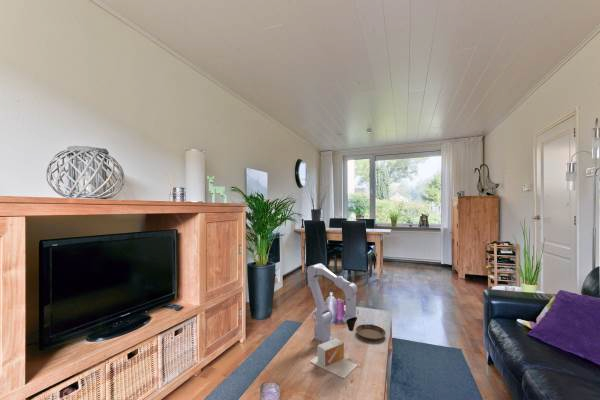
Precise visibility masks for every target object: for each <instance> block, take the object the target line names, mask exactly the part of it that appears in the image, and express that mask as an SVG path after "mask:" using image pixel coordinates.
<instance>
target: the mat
mask: <svg viewBox="0 0 600 400" xmlns="http://www.w3.org/2000/svg"><path fill="white" fill-rule="evenodd" d="M309 362H310V363H311V364H313V365H315V366H317V367H319V368H321V369H323V370H325V371H327V372H329V373H331V374H333V375H336V376H338V377H339V378H341V379H343V380H344V379H346V378H347V376H348V375H350V374H351V373H352V372H353V371H354V370H355V369H356V368H357V367H358V364H356V363H354V362H351V361H350V360H347V359H346V358H343V359H341V360H339V361H337V362H335V363H332V364H330V365H328V366H326V367H325V366H324V365H322V364H321V363H320V362H318V355H316V356H315V357H314V358H313V359H311V360H310V361H309Z"/></svg>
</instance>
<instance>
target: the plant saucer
mask: <svg viewBox="0 0 600 400" xmlns="http://www.w3.org/2000/svg"><path fill="white" fill-rule="evenodd" d="M355 331H356V333H357V335H358V336H359V337H360V338H361V339H363V340H366V341H369V342H378V341H381V340H382V339H384V338H385V336H386V333H387V332H386V330H385V329H384V328H383V327H380V326H378V325H375V324H370V323H365V324H363V323H362V324H360V325H357V327H356V328H355Z"/></svg>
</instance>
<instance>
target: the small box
mask: <svg viewBox="0 0 600 400" xmlns="http://www.w3.org/2000/svg"><path fill="white" fill-rule="evenodd" d="M316 353H317V355H316V356H318V362H320V363H321V364H322V365H324V366H325V367H326V366H328V365H330V364H332V363H335V362H337V361H339V360H341V359H345V342H342V341H341V340H340V339H338V338H333V339H332V340H330V341H328V342H325V343H324V342H322V343H321V344H318V345H317V350H316Z"/></svg>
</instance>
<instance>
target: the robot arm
mask: <svg viewBox="0 0 600 400" xmlns="http://www.w3.org/2000/svg"><path fill="white" fill-rule="evenodd" d="M306 272H307V280H308V283H309V287H310V290H311V293H312V296H313V300H314V303H315V307H316V310H315V312H314V314H315V321H316V322H314V323H315V324H314V326H313V330H314V331H313V332H314V333H313V334H314V335H313V339H315V340H317V341H319V342H322V343H325V342H328V341H330V340H333V339H334V337H333V336H331V335H332V333H331V328H332V327H331V323H332V320H333V318H334V316H333V312H332V311H331V310H330V308H329V306H327V305H326V303H325V300H324V296H323V293H322V290H321V287H320V284H319V281H318V280H319V278H320V276H324V277H326V278H327V279H329V280H331V281H333V283H334V285H335V286H336V287H338V288H339V289H341V290H342V291H343V293H344V295H345V313H344V315H343V317H342V320H341V321H342V322H344V323H346V325H347V329H348V331H349V332H353V331H354V329H355V324H356V322H357V320H358V316H359V313H360V311H359V309H357V292H358V290H359V288H358V285H357V284H356V283H355V282H350V281H348V280H347V279H346V278H344V276H342V275H337V274H334V273H333V272H332V271H331V270H329V269H328V267H326V265H324V264H323V263H321V262H320V263H319V262H318V263H316V264H313V265H312V264H311V265H309V266H308V267H307V269H306Z"/></svg>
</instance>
